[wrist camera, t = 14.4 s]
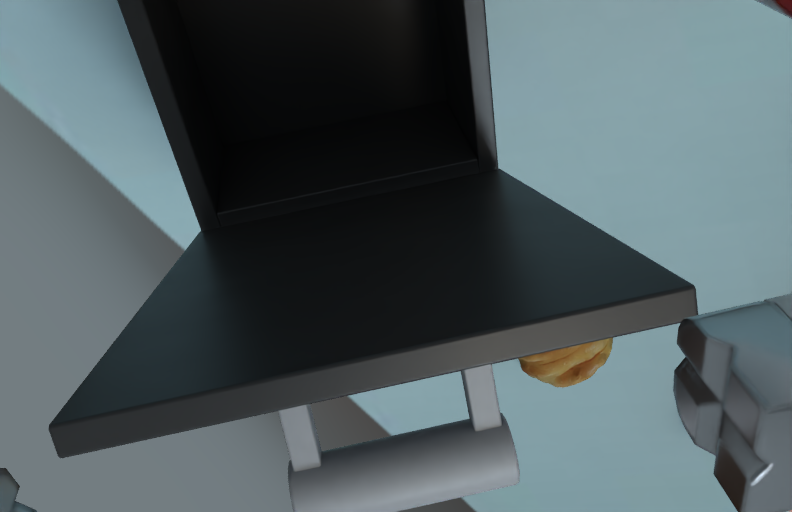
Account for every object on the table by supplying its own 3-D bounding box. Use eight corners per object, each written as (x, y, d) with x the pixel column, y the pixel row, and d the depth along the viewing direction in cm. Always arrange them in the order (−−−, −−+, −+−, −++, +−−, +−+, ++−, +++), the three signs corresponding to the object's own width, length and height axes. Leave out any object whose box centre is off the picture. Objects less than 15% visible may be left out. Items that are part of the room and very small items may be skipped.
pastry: (467, 284, 48) (482, 321, 44) (561, 231, 46) (583, 265, 43) (527, 370, 53) (544, 409, 49) (613, 324, 51) (636, 360, 48)
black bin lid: (45, 426, 15) (116, 626, 16) (697, 284, 16) (716, 490, 17) (199, 231, 33) (227, 334, 34) (500, 168, 34) (516, 271, 35)
